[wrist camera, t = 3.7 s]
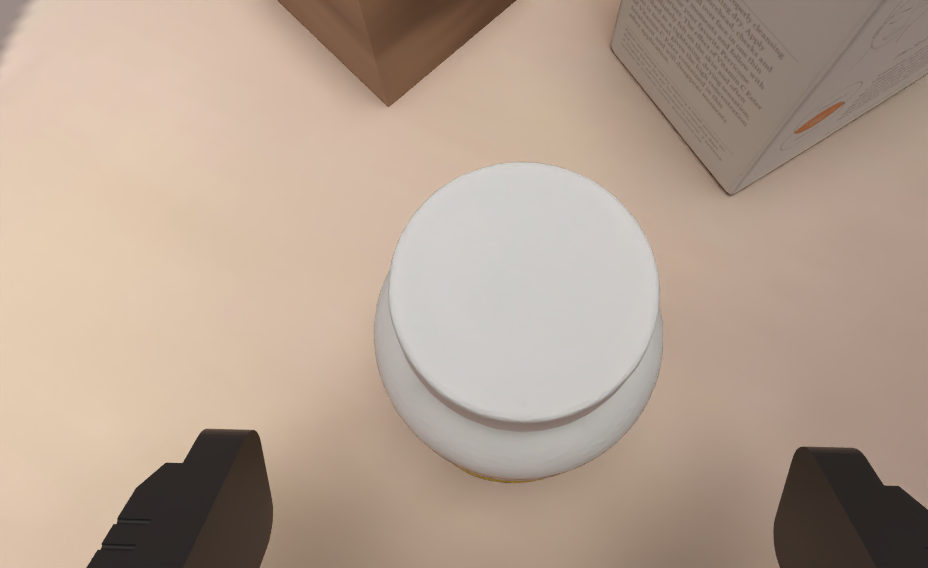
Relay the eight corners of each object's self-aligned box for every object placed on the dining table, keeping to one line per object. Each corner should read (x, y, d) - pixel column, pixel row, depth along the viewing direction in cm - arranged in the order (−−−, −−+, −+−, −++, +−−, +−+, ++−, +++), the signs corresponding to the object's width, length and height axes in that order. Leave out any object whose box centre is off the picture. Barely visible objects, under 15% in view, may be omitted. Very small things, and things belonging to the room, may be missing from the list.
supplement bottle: (599, 495, 18) (705, 506, 9) (399, 469, 19) (307, 453, 10) (612, 299, 20) (716, 137, 11) (427, 278, 20) (370, 106, 11)
